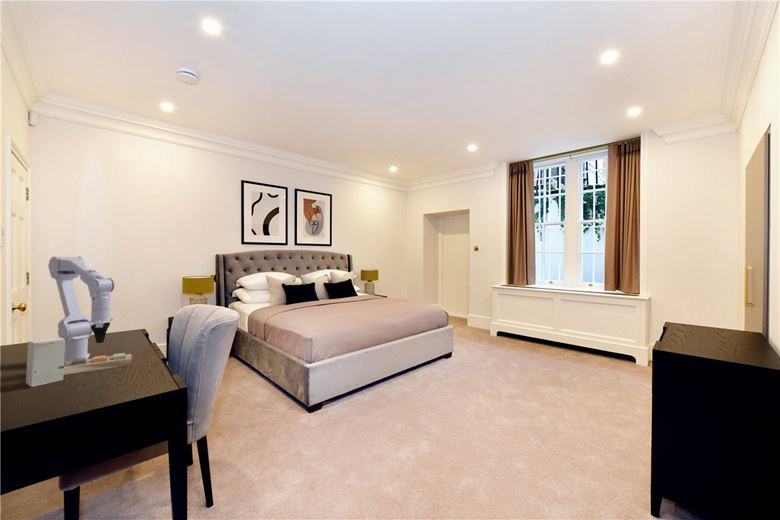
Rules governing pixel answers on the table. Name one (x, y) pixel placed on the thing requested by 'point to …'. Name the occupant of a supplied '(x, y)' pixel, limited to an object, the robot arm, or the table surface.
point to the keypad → (96, 365)
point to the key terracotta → (99, 358)
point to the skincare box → (45, 361)
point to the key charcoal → (79, 361)
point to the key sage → (119, 356)
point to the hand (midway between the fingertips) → (100, 342)
